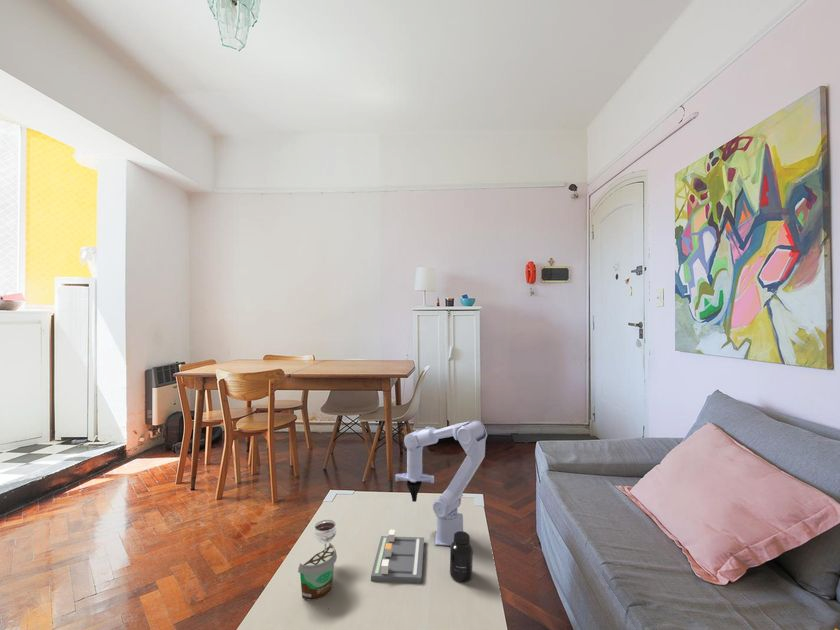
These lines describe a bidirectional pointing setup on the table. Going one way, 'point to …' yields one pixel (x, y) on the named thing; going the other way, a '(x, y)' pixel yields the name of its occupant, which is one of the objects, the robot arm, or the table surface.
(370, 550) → the table surface
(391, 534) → the block
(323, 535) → the wineglass
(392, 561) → the panel
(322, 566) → the food container
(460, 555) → the supplement bottle
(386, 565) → the block
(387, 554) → the block
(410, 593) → the table surface
